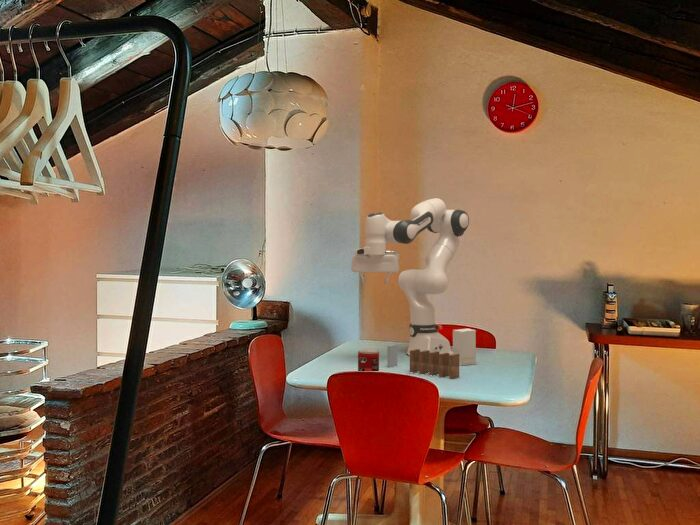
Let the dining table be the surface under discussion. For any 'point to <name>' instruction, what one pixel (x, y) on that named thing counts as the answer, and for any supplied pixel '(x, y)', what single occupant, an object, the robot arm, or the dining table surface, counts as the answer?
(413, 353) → the domino
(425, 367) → the domino
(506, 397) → the dining table surface
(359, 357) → the canned food
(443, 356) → the domino
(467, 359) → the skincare box
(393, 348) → the domino
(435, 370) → the domino
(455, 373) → the domino
